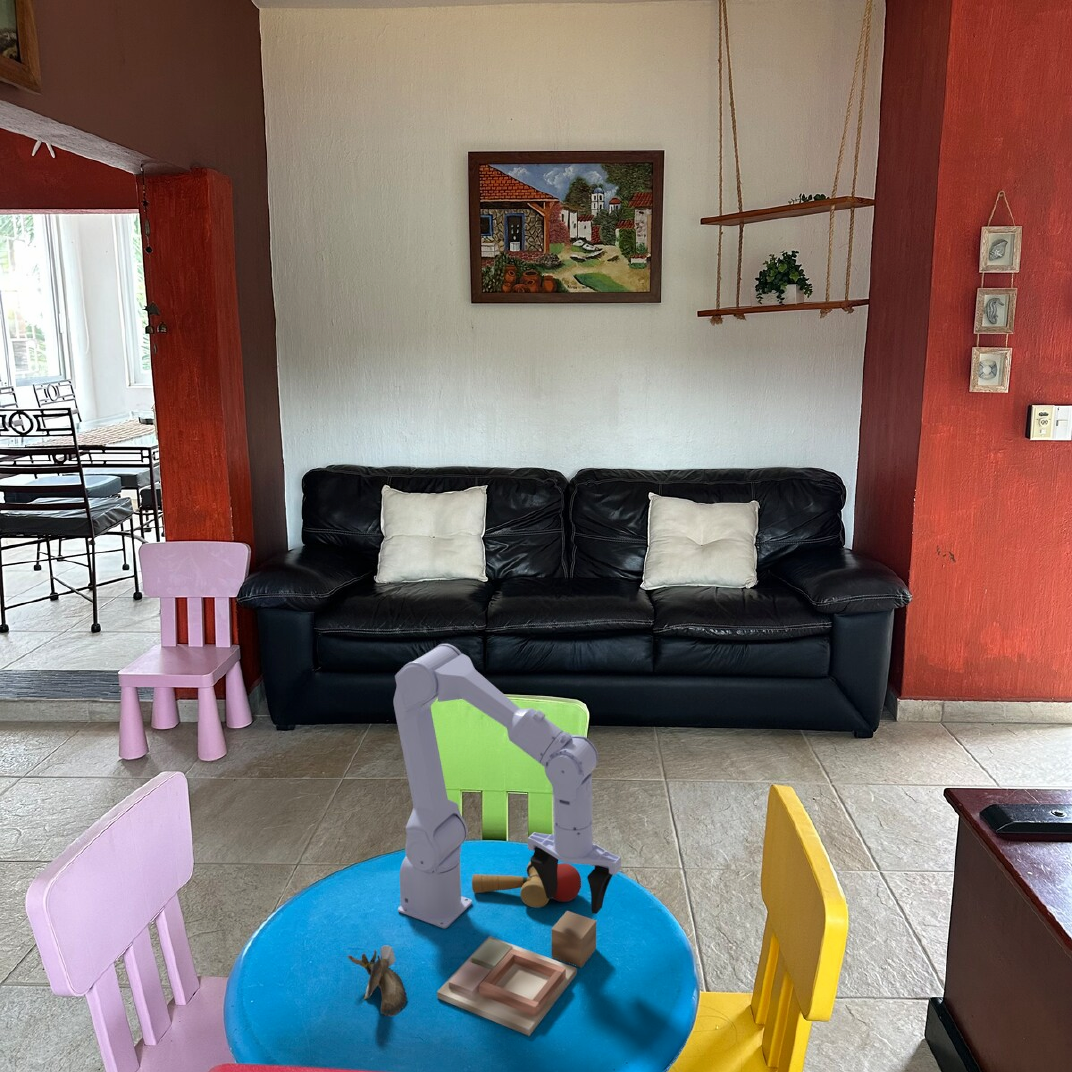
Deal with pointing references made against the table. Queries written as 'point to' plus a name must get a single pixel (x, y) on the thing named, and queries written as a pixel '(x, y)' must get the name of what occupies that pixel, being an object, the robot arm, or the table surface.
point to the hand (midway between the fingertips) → (574, 902)
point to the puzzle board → (508, 985)
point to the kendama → (532, 885)
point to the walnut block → (573, 939)
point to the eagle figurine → (384, 980)
